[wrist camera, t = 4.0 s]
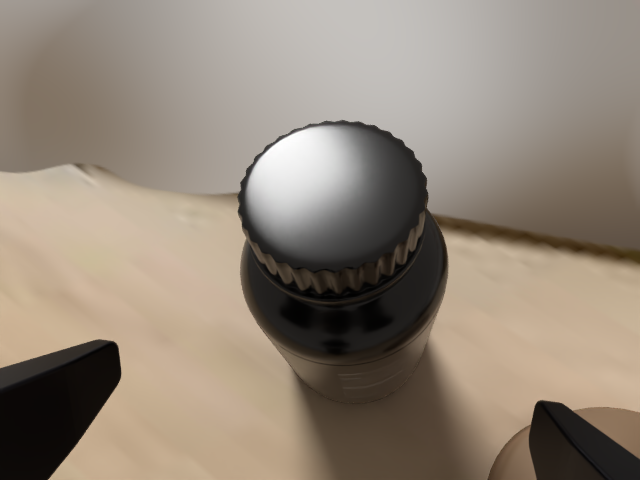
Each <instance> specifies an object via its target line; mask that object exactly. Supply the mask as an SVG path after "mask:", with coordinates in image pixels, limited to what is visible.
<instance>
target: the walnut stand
mask: <svg viewBox="0 0 640 480" xmlns="http://www.w3.org/2000/svg"><path fill="white" fill-rule="evenodd" d="M574 412H575V413H576V414H578V415H579V416H581V417H582V418H583V419H585V420H586V421H588V422H589V423H590V424H592V425H593V426H594V427H596V428H597V429H599V430H600V431H601V432H603V433H604V434H606V435H607V436H608V437H610V438H611V439H613V440H614V441H615V442H617V443H618V444H620V445H621V446H622V447H624V448H625V449H627V450H628V451H629V452H631V453H632V454H634V455H635V456H636V457H638V458H639V459H640V413H639V412H635V411H630V410H626V409H618V408H609V407H596V408H585V409H579V410H574ZM530 427H531V425H529V426H527V427H525V428H524V429H522V430H521V431H520V432H518V433H517V434H516V435H514V436H513V437H512V438H511V439H510V440H509V441H508V443H507V444H506V445H505V446H504V447H503V449H502V450H501V452H500V453H499V455H498V456H497V458H496V460H495V462H494V464H493V466H492V468H491V471H490V474H489V477H488V480H537V479H536V474H535V470H534V466H533V462H532V458H531V454H530V449H529V432H530Z"/></svg>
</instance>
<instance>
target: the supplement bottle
mask: <svg viewBox="0 0 640 480" xmlns="http://www.w3.org/2000/svg"><path fill="white" fill-rule="evenodd" d="M240 184H241V191H240V193H239V195H238V197H237V198H238V202H239V209H238V215H239V218H240V220H241V222H242V230H243V232H244V234H245V236H246V241H245V243H244V247H243V251H242V256H241V264H240V276H241V285H242V290H243V294H244V297H245V301H246V303H247V305H248V308H249V310H250V312H251V313H252V315H253V317H254V319H255V320H256V322H257V324H258V325H259V326H260V328H261V329H262V330H263V332H264V333H265V334H266V336H267V337H268V338H269V339H270V341H271V342H272V343H273V344H274V346H275V347H276V348H277V349H278V351H279V352H280V353H281V355H282V356H283V357H284V358H285V360H286V361H287V362H288V363H289V365H290V366H291V367H292V368H293V370H294V371H295V372H296V373H297V374H298V376H299V377H300V378H301V379H302V380H303V381H304V382H305V383H306V384H307V385H308V386H309V387H310V388H311V389H313V390H314V391H316V392H317V393H319V394H321V395H322V396H324V397H327V398H329V399H331V400H335V401H338V402H343V403H351V404H359V403H367V402H372V401H375V400H379V399H381V398H383V397H386V396H388V395H389V394H391V393H393V392H394V391H396V390H397V389H398V388H399V387H401V386H402V385H403V384H404V383H405V382H406V381H407V379H408V378H409V377H410V376H411V374H412V373H413V372H414V370H415V368H416V366H417V364H418V362H419V360H420V358H421V355H422V353H423V350H424V348H425V345H426V342H427V340H428V337H429V334H430V332H431V329H432V327H433V324H434V321H435V319H436V316H437V313H438V311H439V308H440V305H441V303H442V300H443V296H444V293H445V289H446V284H447V278H448V254H447V248H446V244H445V240H444V237H443V235H442V232H441V230H440V228H439V226H438V224H437V222H436V220H435V219H434V217H433V216H432V214H431V213H430V212H429V210H428V209H427V203H428V192H427V189H426V186H427V178H426V176H425V175H424V173H423V172H422V164H421V163H420V162H419V161H418V160H417V159H416V158H415V155H414V152H413V151H412V150H411V149H409V148H408V147H406V146H405V144H404V142H403V141H402V140H400V139H397V138H395V137H394V136H393V135H392V134H391V133H390V132H388V131H384V130H380V129H379V128H378V127H377V126H375V125H366V124H364V123H361V122H359V121H358V122H348V121H344V120H341V121H336V122H331V121H324V122H322V123H319V124H309V125H307V126H305V127H303V128H298V129H294V130H292V131H291V132H290V133H288V134H286V135H282V136H280V137H279V138H278V139H277V140H276V141H275V142H273V143H271V144H269V145H267V146H266V147H265V149H264V151H263V152H262V153H260V154H259V155H257V156H256V157H255V159H254V162H253V164H251V165H250V166H249V167H248V168H247V170H246V176H245V177H244V179H243V180H242V181H241V183H240Z"/></svg>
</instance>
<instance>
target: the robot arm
mask: <svg viewBox="0 0 640 480" xmlns="http://www.w3.org/2000/svg"><path fill="white" fill-rule="evenodd" d="M120 378H121V364H120V356H119V348H118V345H117V344H116V343H115V342H114V341H108V340H101V339H98V340H94V341H90V342H87V343H84V344H80V345H77V346H74V347H70V348H67V349H63V350H60V351H57V352H53V353H50V354H47V355H43V356H40V357H37V358H33V359H30V360H27V361H23V362H20V363H16V364H13V365H10V366H6V367H3V368H0V480H48V479H49V478H50V477H51V476H52V474H53V473H54V472H55V471H56V469H57V468H58V467H59V466H60V464H61V463H62V462H63V461H64V460H65V458H66V457H67V456H68V455H69V453H70V452H71V451H72V450H73V448H74V447H75V446H76V444H77V443H78V442H79V440H80V439H81V438H82V436H83V435H84V433H85V432H86V430H87V429H88V428H89V426H90V425H91V423H92V422H93V420H94V419H95V417H96V416H97V414H98V413H99V411H100V410H101V409H102V407H103V406H104V404H105V403H106V401H107V400H108V398H109V397H110V395H111V394H112V392H113V391H114V390H115V388H116V387H117V385H118V383H119V381H120ZM529 449H530V454H531V458H532V462H533V466H534V470H535V474H536V479H537V480H640V459H639V458H638V457H636V456H635V455H634V454H632V453H631V452H629V451H628V450H627V449H625V448H624V447H622V446H621V445H620V444H618V443H617V442H615V441H614V440H613V439H611V438H610V437H608V436H607V435H606V434H604V433H603V432H601V431H600V430H599V429H597V428H596V427H594V426H593V425H592V424H590V423H589V422H588V421H586V420H585V419H583V418H582V417H581V416H579V415H578V414H576V413H575V412H574V411H572V410H571V409H569V408H568V407H567V406H565V405H564V404H562V403H559V402H551V401H544V400H540V401H538V402H537V403H536V405H535V408H534V413H533V418H532V422H531V427H530V432H529Z"/></svg>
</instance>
